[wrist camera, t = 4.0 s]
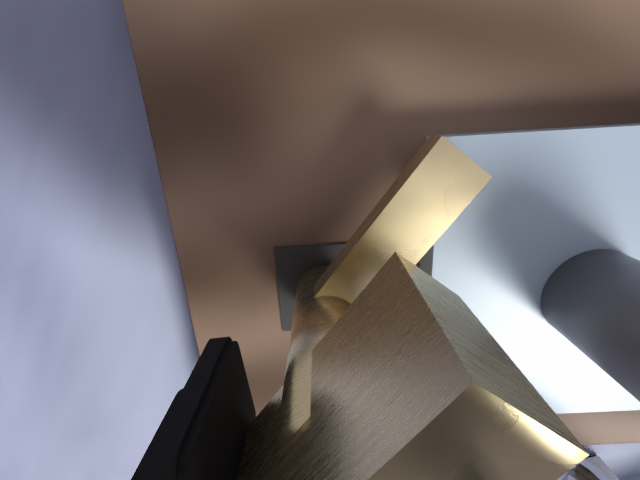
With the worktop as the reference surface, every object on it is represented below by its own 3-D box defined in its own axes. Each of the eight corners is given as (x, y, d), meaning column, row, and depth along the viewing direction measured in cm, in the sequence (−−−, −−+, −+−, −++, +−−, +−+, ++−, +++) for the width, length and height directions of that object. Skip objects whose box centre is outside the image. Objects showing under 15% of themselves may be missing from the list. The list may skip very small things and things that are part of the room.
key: (462, 169, 12) (839, 288, 3) (296, 367, 15) (264, 704, 6) (412, 130, 11) (700, 145, 3) (251, 342, 14) (149, 668, 6)
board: (651, 416, 18) (681, 442, 17) (230, 435, 19) (222, 462, 17) (835, -76, 11) (917, -108, 10) (136, -28, 11) (109, -52, 10)
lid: (663, 381, 16) (884, 547, 10) (413, 393, 16) (472, 562, 10) (762, 115, 12) (1256, 105, 6) (426, 135, 12) (541, 146, 6)
